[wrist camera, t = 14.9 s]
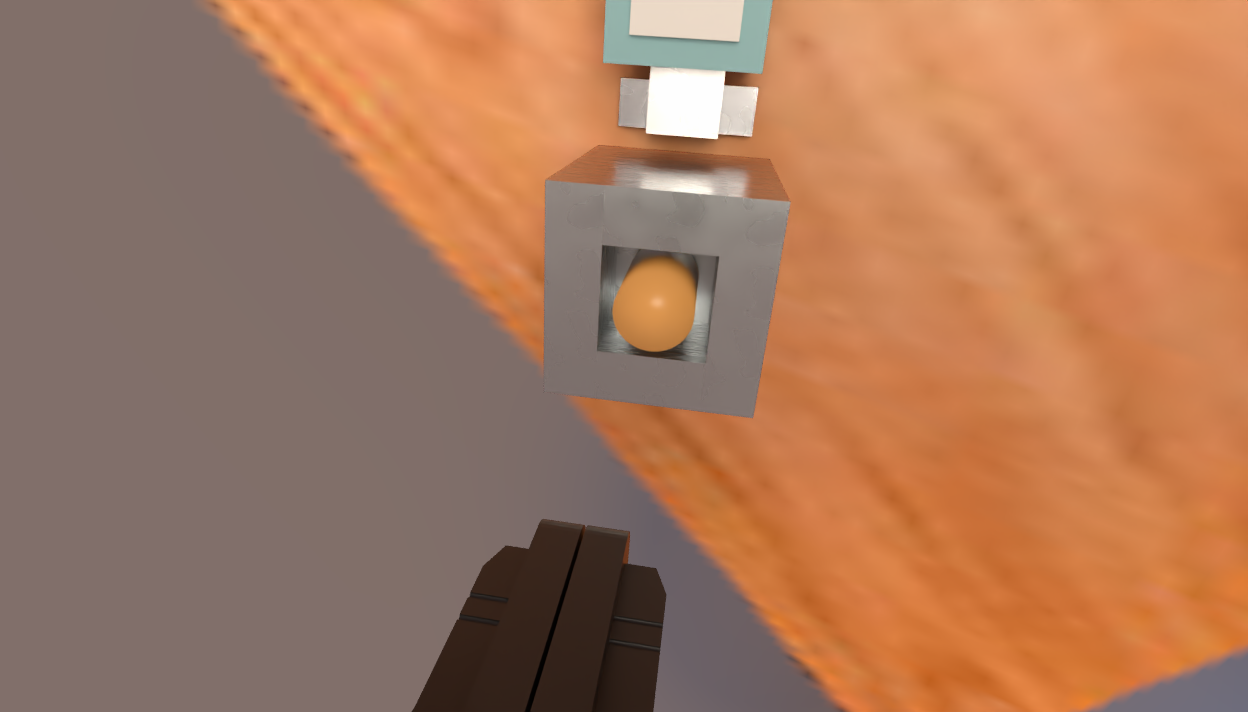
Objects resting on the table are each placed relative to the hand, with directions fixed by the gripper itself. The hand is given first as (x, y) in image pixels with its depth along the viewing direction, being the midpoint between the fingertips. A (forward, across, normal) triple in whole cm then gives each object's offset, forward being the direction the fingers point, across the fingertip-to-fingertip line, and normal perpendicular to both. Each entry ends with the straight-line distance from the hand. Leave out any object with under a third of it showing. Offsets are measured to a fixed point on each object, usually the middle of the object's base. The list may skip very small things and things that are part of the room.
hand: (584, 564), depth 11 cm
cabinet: (+23, 0, 0) cm, 23 cm away
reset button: (+16, 0, 0) cm, 16 cm away
